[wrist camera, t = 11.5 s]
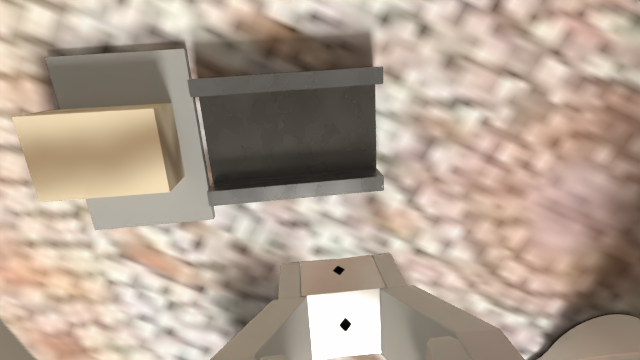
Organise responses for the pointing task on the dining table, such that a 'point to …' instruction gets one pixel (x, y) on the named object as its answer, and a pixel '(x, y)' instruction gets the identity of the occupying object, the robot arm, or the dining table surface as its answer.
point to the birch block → (101, 151)
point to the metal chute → (290, 134)
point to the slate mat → (138, 89)
